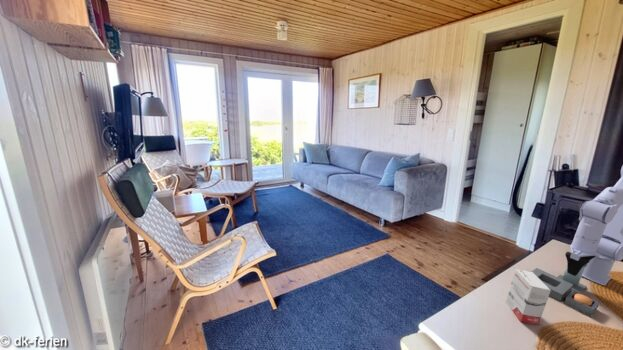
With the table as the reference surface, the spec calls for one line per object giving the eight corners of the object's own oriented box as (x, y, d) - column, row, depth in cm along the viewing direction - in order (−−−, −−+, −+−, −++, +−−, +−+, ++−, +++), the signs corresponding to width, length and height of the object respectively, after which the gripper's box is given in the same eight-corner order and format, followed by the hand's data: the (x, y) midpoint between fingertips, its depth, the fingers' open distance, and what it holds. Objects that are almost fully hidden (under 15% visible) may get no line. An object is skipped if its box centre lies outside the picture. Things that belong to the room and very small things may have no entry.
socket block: (534, 273, 95) (536, 267, 95) (570, 290, 87) (573, 284, 86) (522, 282, 90) (524, 276, 89) (559, 301, 82) (562, 294, 81)
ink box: (539, 326, 72) (552, 290, 69) (520, 322, 73) (532, 287, 70) (522, 303, 80) (533, 270, 77) (504, 300, 81) (514, 268, 78)
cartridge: (563, 275, 93) (571, 255, 91) (580, 282, 89) (588, 262, 87) (559, 279, 90) (567, 259, 88) (577, 286, 87) (585, 266, 85)
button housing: (570, 296, 84) (573, 290, 84) (596, 309, 79) (599, 302, 79) (564, 303, 81) (566, 296, 80) (590, 316, 76) (593, 310, 76)
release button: (574, 298, 83) (577, 292, 82) (591, 306, 80) (594, 300, 79) (570, 302, 81) (573, 296, 80) (587, 311, 78) (590, 304, 77)
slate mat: (559, 275, 95) (560, 274, 95) (586, 287, 89) (586, 286, 89) (552, 281, 91) (552, 280, 91) (579, 294, 86) (579, 293, 86)
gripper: (598, 248, 78) (583, 285, 82) (611, 237, 86) (596, 272, 89) (567, 237, 84) (554, 273, 88) (582, 228, 91) (569, 261, 95)
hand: (573, 272), depth 89 cm, fingers closed on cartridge, 4 cm apart
